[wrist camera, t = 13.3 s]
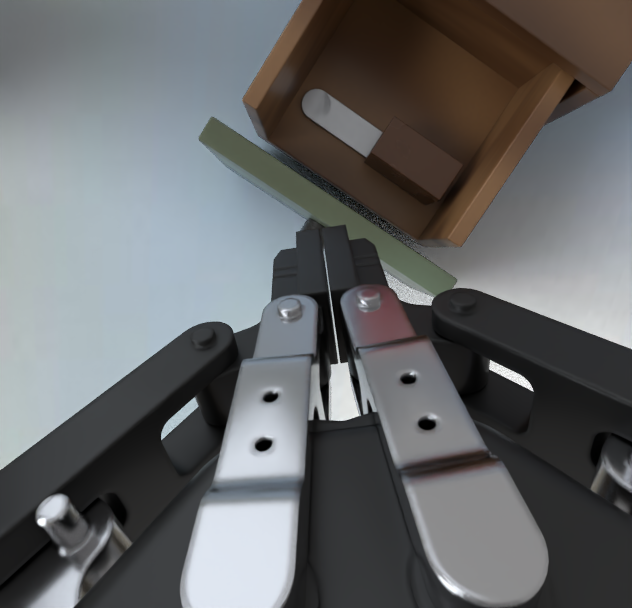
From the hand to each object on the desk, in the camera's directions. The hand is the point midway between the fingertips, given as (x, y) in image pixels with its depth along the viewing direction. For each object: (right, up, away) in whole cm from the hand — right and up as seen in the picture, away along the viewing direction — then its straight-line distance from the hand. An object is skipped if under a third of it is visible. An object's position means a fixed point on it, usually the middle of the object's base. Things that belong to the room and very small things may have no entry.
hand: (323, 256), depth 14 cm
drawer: (+3, +8, +14) cm, 16 cm away
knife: (+3, +8, +13) cm, 15 cm away
